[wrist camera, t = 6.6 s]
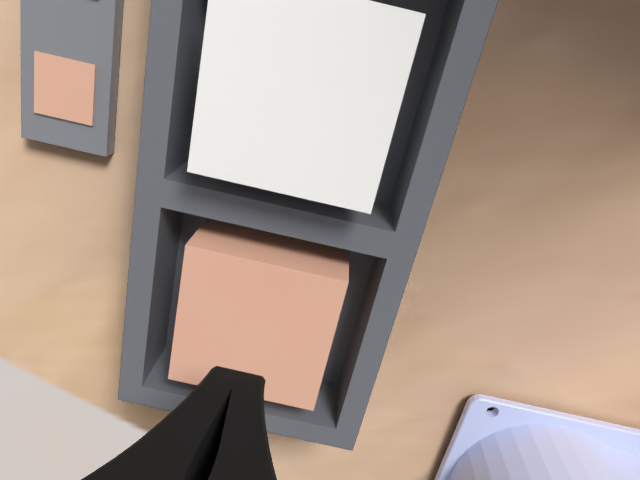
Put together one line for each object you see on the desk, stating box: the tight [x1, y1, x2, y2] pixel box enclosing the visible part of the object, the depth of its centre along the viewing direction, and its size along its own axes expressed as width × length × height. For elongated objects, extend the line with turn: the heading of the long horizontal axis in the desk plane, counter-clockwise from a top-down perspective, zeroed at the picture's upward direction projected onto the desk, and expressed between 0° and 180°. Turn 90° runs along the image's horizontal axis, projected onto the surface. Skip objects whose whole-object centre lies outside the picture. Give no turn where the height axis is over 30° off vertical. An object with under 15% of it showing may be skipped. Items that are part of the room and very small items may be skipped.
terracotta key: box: [168, 218, 349, 411], centre depth 17 cm, size 5×5×3 cm
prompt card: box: [21, 0, 124, 157], centre depth 16 cm, size 3×8×1 cm, turn 168°
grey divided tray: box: [118, 0, 498, 451], centre depth 15 cm, size 9×24×4 cm, turn 167°
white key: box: [187, 0, 426, 214], centre depth 14 cm, size 5×5×3 cm
